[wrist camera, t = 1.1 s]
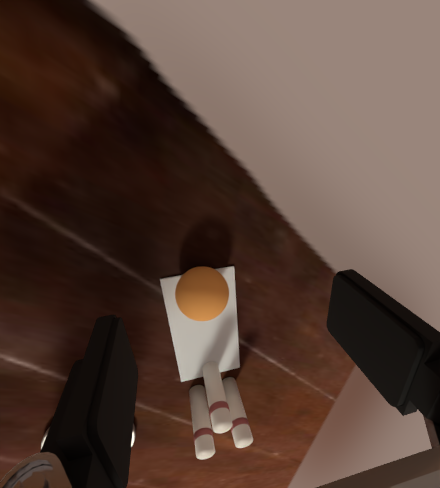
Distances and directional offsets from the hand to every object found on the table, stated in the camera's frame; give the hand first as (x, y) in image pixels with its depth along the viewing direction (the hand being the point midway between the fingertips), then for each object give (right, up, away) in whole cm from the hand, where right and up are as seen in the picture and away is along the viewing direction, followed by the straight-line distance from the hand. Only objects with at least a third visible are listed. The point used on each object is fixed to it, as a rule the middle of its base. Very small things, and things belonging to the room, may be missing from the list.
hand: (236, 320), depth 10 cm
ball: (-3, -2, +18) cm, 18 cm away
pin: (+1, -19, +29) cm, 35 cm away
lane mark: (-3, -8, +24) cm, 25 cm away
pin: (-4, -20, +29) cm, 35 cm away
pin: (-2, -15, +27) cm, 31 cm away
